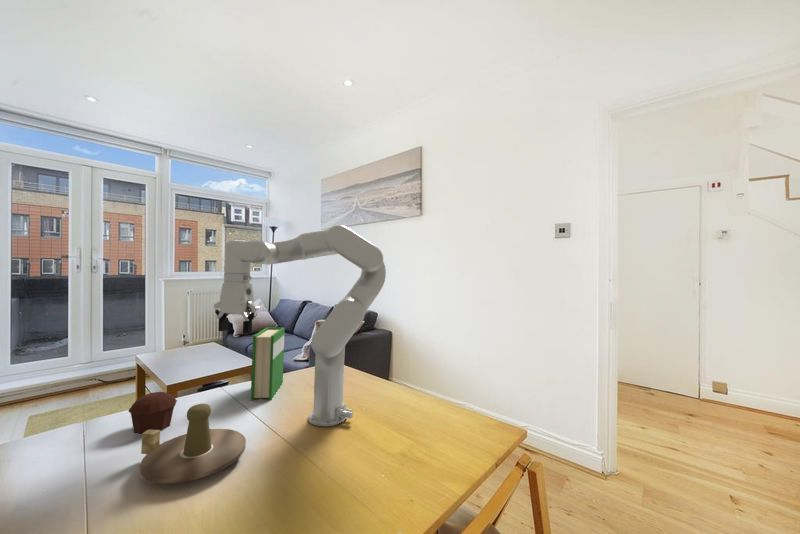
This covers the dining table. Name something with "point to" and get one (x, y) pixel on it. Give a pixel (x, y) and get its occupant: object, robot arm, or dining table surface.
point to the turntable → (175, 467)
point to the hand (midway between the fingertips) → (235, 331)
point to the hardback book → (267, 363)
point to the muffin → (152, 412)
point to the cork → (198, 431)
